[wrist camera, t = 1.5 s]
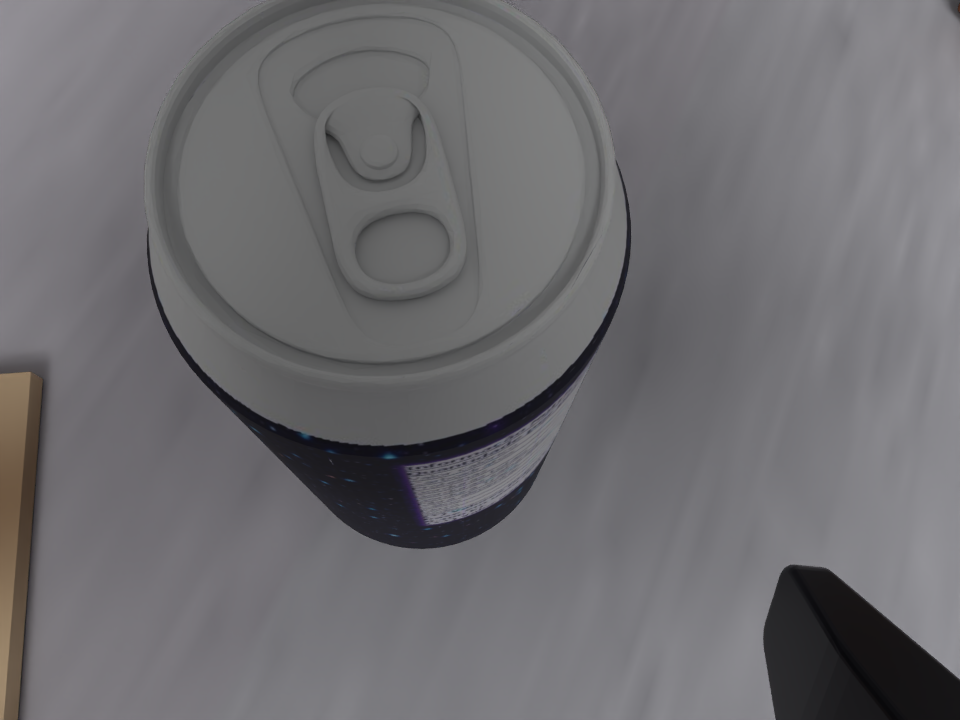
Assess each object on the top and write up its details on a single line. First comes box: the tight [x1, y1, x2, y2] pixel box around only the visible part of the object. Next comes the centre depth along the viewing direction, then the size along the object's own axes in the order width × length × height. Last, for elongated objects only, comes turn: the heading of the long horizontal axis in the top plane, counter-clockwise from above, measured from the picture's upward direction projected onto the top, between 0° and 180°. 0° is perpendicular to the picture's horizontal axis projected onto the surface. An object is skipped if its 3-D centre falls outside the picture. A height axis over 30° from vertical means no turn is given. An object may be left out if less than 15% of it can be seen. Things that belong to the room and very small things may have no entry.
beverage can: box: [144, 0, 631, 549], centre depth 14 cm, size 6×6×12 cm
